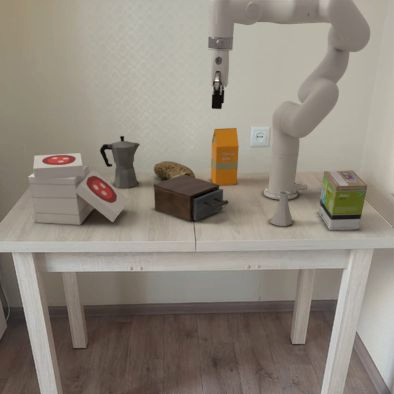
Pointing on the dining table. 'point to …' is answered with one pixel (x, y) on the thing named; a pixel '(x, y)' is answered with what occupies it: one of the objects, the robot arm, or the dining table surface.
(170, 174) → the sponge
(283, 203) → the flask
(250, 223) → the dining table surface
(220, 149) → the orange juice
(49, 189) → the pizza boxes
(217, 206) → the drawer
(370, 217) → the dining table surface
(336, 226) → the tea box
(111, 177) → the dining table surface
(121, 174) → the coffeepot
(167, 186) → the cabinet
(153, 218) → the dining table surface
